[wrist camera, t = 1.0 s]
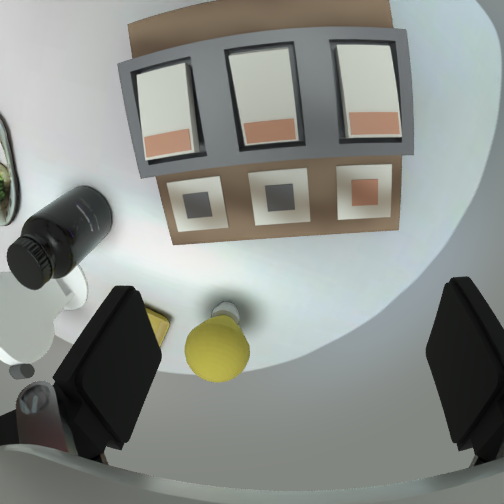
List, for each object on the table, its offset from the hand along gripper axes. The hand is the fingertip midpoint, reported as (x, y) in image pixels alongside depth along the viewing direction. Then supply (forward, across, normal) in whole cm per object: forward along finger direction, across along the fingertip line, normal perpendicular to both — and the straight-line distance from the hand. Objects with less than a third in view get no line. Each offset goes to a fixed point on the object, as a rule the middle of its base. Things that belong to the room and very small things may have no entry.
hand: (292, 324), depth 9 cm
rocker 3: (+17, -6, -6) cm, 19 cm away
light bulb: (+22, +8, +17) cm, 29 cm away
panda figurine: (+22, +32, +12) cm, 41 cm away
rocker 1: (+17, +9, -6) cm, 20 cm away
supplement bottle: (+22, +23, +4) cm, 32 cm away
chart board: (+22, +2, -4) cm, 22 cm away
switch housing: (+20, +2, -6) cm, 21 cm away
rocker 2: (+17, +2, -6) cm, 18 cm away
